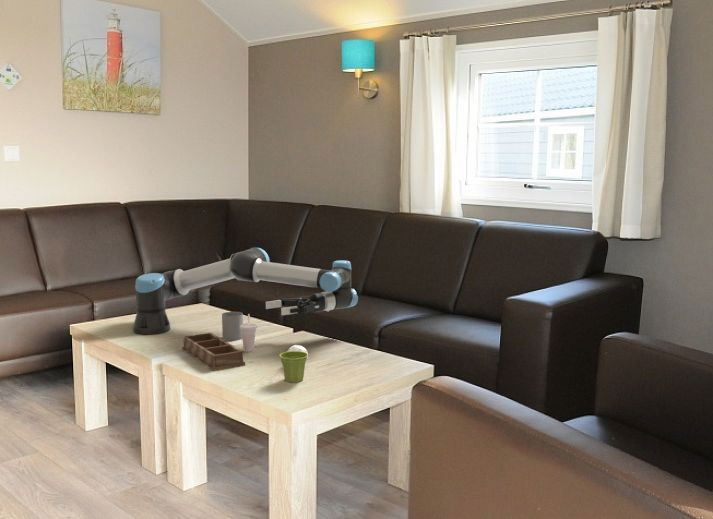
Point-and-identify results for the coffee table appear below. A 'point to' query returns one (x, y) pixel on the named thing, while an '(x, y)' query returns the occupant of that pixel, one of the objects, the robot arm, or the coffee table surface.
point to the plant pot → (293, 365)
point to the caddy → (213, 351)
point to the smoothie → (248, 335)
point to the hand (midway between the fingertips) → (273, 308)
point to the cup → (232, 326)
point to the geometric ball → (298, 349)
